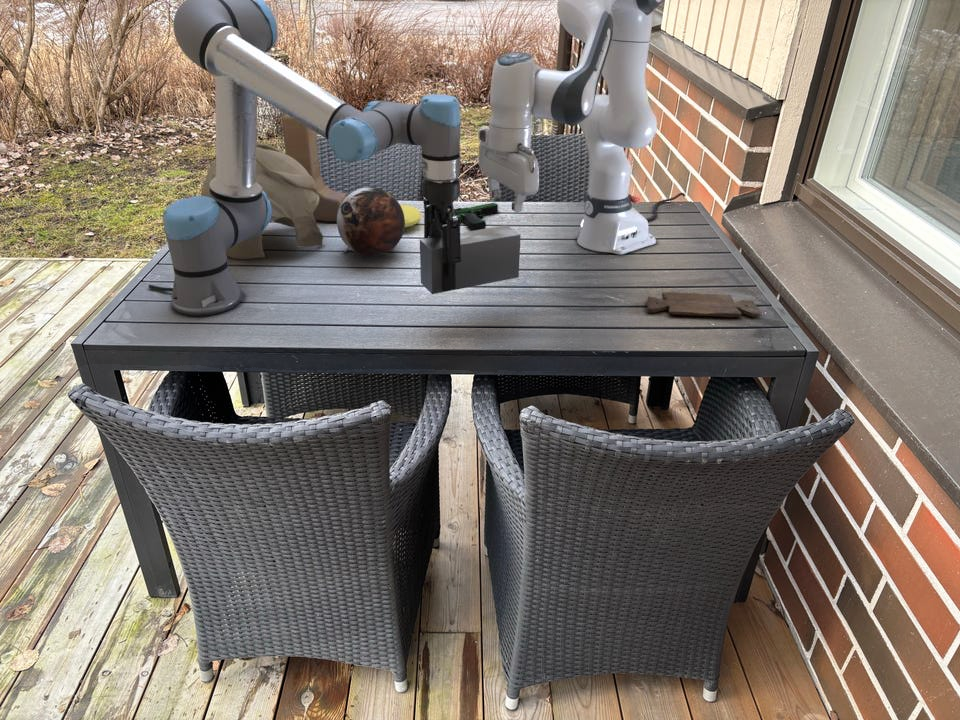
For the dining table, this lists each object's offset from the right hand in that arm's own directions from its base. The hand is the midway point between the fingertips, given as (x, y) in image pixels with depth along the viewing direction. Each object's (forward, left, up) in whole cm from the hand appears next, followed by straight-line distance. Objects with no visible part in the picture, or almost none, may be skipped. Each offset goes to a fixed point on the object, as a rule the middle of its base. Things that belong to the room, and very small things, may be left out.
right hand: (506, 204), depth 154 cm
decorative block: (+21, -77, -25) cm, 83 cm away
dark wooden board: (-42, +20, -25) cm, 53 cm away
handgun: (-22, -55, -25) cm, 64 cm away
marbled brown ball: (+16, -44, -25) cm, 53 cm away
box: (+9, +1, -16) cm, 18 cm away
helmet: (+41, -60, -25) cm, 77 cm away
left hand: (+16, +1, -15) cm, 22 cm away
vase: (+3, -61, -25) cm, 66 cm away
